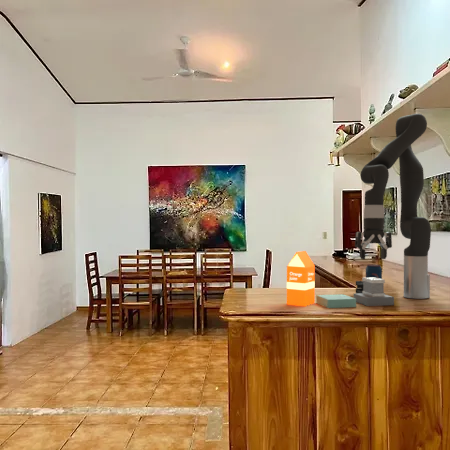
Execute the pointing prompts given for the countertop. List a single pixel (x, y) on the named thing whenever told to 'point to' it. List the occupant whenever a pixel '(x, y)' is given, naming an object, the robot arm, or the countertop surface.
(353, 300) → the stand
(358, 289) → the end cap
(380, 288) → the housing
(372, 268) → the soda can
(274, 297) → the countertop surface
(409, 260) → the robot arm
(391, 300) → the stand
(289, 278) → the orange juice
